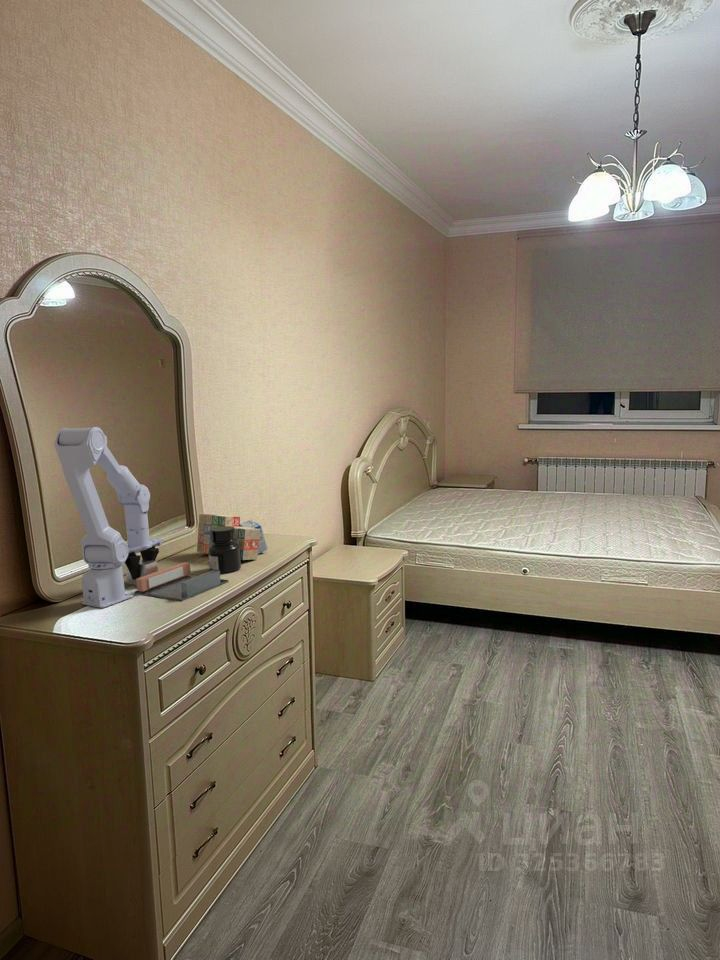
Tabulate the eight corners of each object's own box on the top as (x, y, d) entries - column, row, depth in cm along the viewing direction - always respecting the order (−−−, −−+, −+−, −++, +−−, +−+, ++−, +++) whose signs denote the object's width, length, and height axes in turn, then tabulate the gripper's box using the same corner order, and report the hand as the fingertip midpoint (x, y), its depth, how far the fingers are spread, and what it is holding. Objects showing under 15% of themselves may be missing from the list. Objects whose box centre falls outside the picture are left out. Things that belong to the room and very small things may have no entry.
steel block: (147, 586, 178) (145, 564, 178) (127, 583, 183) (124, 562, 182) (159, 582, 182) (156, 561, 181) (138, 579, 186) (136, 558, 185)
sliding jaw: (143, 591, 171) (142, 579, 171) (137, 590, 172) (136, 578, 172) (191, 574, 186) (190, 562, 185) (185, 573, 187) (184, 562, 186)
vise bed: (181, 601, 165) (180, 585, 164) (135, 593, 173) (133, 578, 172) (228, 582, 179) (227, 567, 178) (183, 575, 187) (181, 561, 187)
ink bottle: (211, 566, 196) (207, 526, 194) (241, 564, 197) (238, 524, 195) (208, 575, 186) (205, 533, 185) (240, 572, 187) (237, 530, 186)
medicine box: (245, 548, 213) (238, 524, 210) (258, 542, 215) (250, 518, 212) (256, 555, 206) (248, 530, 203) (268, 549, 208) (261, 524, 205)
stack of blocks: (258, 559, 201) (261, 518, 201) (242, 560, 196) (245, 518, 196) (211, 551, 214) (214, 513, 214) (195, 552, 209) (198, 513, 209)
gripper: (126, 535, 172) (131, 586, 174) (168, 523, 184) (172, 571, 186) (107, 533, 175) (113, 583, 177) (150, 522, 188) (154, 569, 190)
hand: (142, 577), depth 182 cm, fingers closed on steel block, 4 cm apart
